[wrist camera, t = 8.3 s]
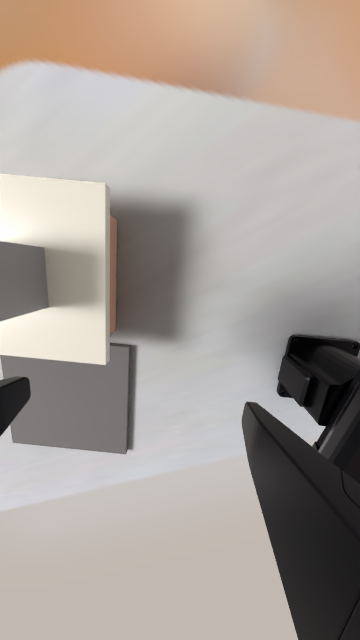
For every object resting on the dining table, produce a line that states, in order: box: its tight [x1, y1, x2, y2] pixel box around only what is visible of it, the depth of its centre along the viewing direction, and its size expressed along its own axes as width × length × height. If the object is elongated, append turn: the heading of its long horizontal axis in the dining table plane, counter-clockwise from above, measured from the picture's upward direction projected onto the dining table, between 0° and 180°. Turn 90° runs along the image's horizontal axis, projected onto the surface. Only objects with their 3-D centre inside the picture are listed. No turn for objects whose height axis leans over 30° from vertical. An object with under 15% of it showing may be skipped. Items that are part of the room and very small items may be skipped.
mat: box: [0, 343, 131, 454], centre depth 22 cm, size 13×13×1 cm
